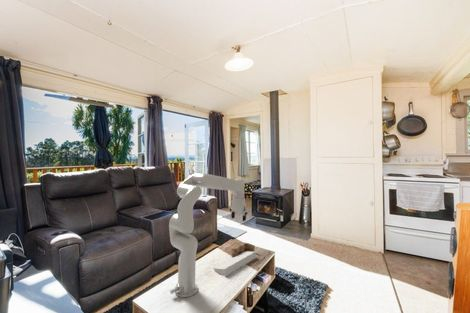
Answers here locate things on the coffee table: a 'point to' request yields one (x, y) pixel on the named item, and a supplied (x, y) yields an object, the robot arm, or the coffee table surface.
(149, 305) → the coffee table surface
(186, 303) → the coffee table surface
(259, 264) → the coffee table surface
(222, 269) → the decorative molding
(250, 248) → the wooden corner bracket
